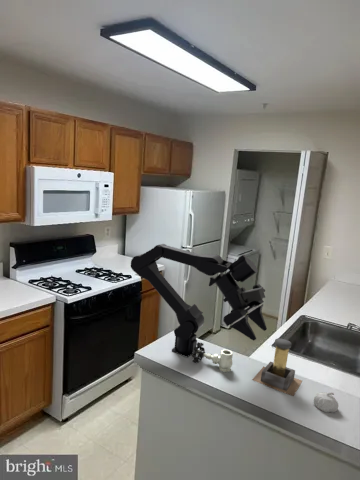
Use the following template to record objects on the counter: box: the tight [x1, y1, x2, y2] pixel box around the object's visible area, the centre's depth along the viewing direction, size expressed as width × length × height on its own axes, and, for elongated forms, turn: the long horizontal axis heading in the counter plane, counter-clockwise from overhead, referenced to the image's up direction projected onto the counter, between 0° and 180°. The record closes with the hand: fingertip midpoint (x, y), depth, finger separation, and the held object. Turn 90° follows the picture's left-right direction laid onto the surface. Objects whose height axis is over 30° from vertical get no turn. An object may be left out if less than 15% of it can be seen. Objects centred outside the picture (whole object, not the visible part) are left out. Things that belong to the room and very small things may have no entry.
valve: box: [191, 341, 233, 373], centre depth 108 cm, size 7×7×12 cm
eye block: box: [251, 361, 303, 397], centre depth 102 cm, size 12×10×4 cm
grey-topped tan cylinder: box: [272, 337, 292, 378], centre depth 102 cm, size 5×5×12 cm
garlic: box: [313, 392, 339, 413], centre depth 92 cm, size 6×5×5 cm
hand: (260, 334), depth 104 cm, fingers open, 9 cm apart
